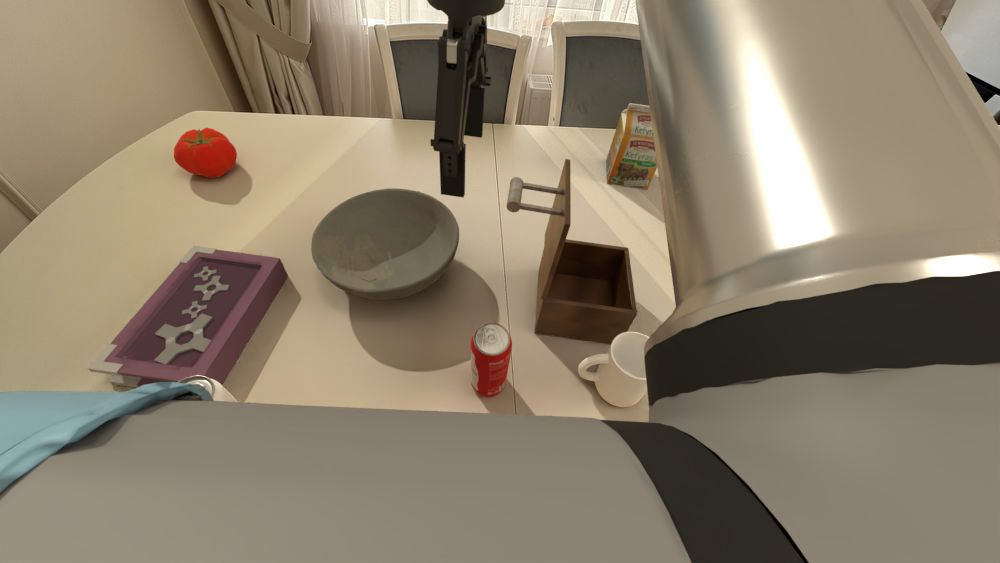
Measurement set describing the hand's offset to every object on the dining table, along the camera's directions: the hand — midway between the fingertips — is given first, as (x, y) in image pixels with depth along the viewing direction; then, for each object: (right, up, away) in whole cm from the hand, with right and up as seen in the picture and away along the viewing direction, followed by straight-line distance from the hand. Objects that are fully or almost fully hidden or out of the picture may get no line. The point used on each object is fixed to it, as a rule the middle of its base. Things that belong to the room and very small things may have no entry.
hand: (463, 162), depth 52 cm
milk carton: (+39, +13, +57) cm, 70 cm away
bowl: (-17, -13, +29) cm, 36 cm away
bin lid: (+14, -7, +13) cm, 20 cm away
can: (-35, -37, +7) cm, 51 cm away
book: (-46, -23, +18) cm, 54 cm away
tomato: (-64, +11, +45) cm, 79 cm away
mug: (+23, -33, +17) cm, 43 cm away
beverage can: (+3, -32, +15) cm, 36 cm away
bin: (+20, -20, +27) cm, 39 cm away
